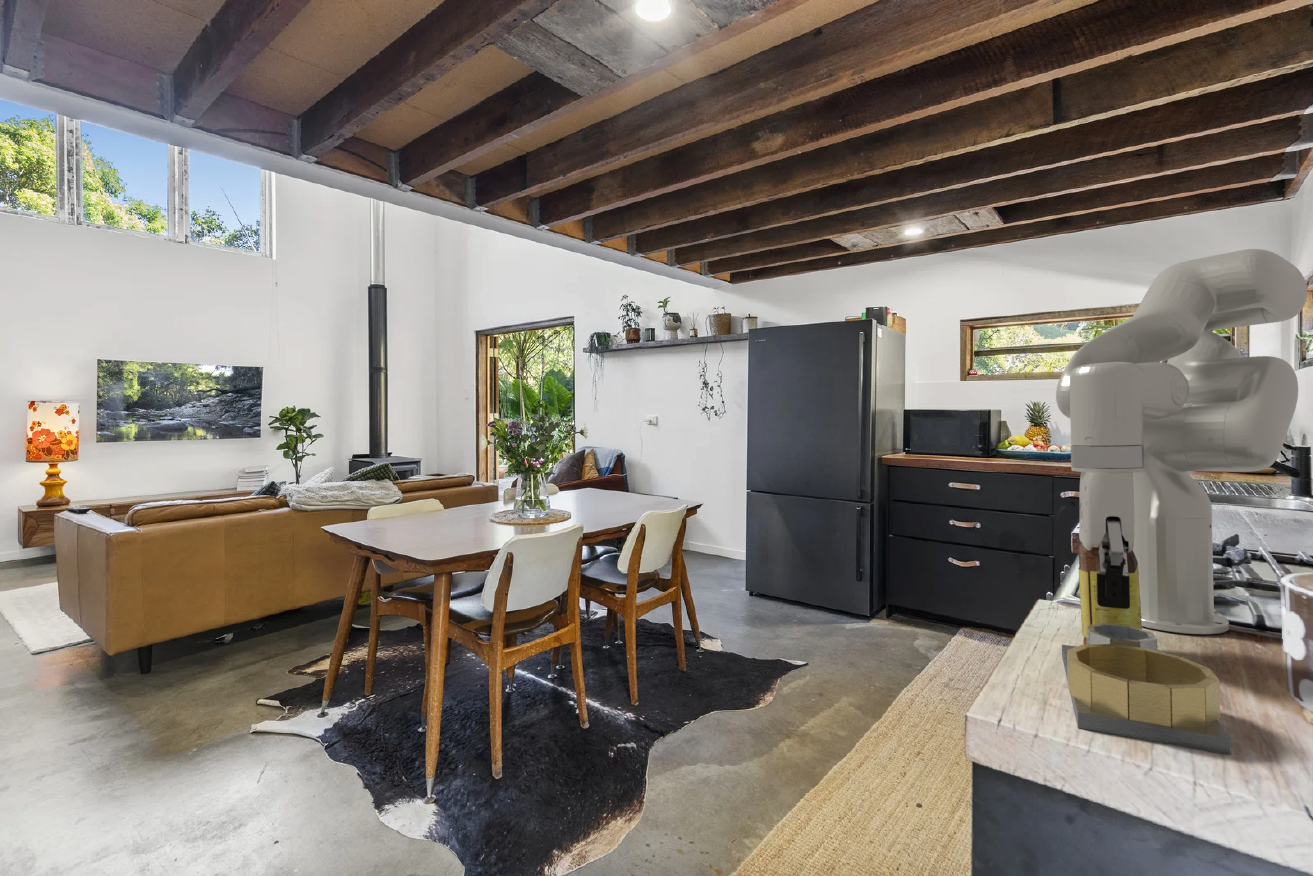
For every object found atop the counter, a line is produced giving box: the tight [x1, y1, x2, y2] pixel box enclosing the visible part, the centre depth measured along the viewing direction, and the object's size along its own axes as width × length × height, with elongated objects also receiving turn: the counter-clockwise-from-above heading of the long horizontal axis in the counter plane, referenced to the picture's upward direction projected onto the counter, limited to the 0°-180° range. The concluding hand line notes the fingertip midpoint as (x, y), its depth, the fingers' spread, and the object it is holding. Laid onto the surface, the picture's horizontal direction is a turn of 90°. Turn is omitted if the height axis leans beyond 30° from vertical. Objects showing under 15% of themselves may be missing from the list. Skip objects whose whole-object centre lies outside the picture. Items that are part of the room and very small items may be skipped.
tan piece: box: [1061, 623, 1232, 756], centre depth 65 cm, size 21×12×5 cm, turn 150°
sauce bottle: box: [1077, 528, 1143, 645], centre depth 78 cm, size 7×6×20 cm
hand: (1109, 598), depth 79 cm, fingers closed on sauce bottle, 6 cm apart
